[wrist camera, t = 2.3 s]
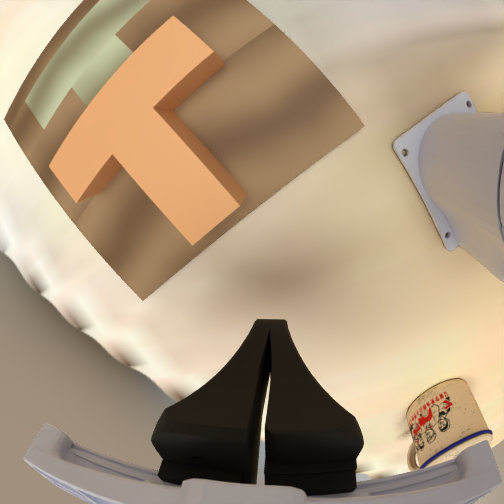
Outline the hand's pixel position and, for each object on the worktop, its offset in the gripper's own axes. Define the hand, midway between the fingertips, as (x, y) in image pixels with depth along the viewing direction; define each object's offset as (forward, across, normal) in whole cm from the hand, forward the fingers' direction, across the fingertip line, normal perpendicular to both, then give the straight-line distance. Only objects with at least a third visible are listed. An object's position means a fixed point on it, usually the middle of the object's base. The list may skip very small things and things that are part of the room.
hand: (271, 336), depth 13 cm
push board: (+8, +9, -12) cm, 17 cm away
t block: (+7, +6, -8) cm, 12 cm away
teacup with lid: (+8, -20, +20) cm, 29 cm away
